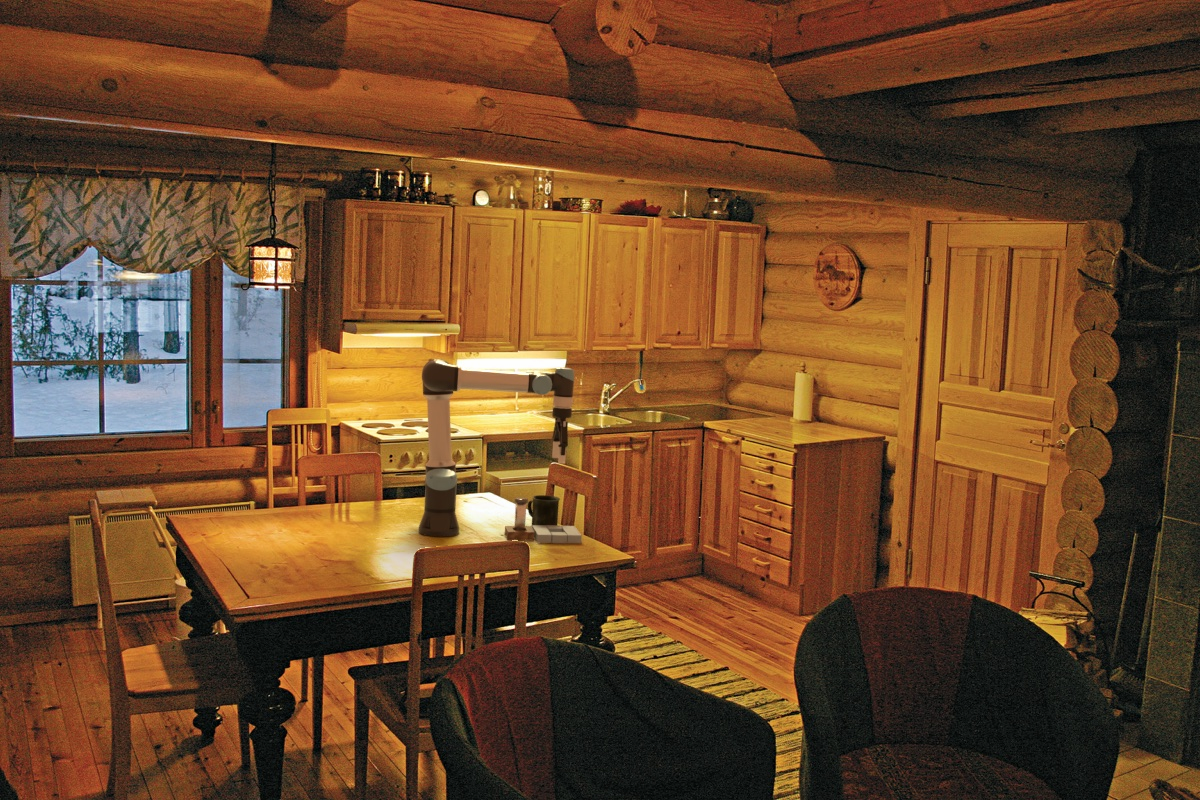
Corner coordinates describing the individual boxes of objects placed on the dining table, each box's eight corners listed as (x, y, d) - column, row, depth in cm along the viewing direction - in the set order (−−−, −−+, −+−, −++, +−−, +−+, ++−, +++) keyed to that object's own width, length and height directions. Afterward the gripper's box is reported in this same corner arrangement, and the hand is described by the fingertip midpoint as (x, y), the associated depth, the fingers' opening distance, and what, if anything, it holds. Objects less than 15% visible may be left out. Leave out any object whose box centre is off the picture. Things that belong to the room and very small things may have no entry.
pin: (513, 538, 402) (515, 500, 401) (511, 535, 407) (513, 497, 405) (526, 538, 403) (528, 500, 402) (524, 535, 408) (527, 497, 406)
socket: (537, 542, 397) (537, 534, 397) (531, 532, 413) (531, 525, 413) (581, 543, 400) (581, 535, 400) (573, 533, 417) (574, 525, 416)
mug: (546, 532, 416) (547, 501, 415) (518, 525, 425) (520, 495, 424) (563, 528, 424) (565, 498, 423) (536, 521, 433) (538, 492, 432)
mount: (507, 539, 399) (508, 531, 399) (504, 533, 409) (505, 525, 409) (534, 540, 401) (534, 532, 401) (530, 534, 411) (531, 526, 411)
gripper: (577, 411, 408) (573, 466, 410) (566, 404, 432) (562, 455, 434) (558, 410, 406) (554, 465, 408) (547, 403, 430) (544, 455, 432)
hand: (558, 460), depth 421 cm, fingers open, 13 cm apart
